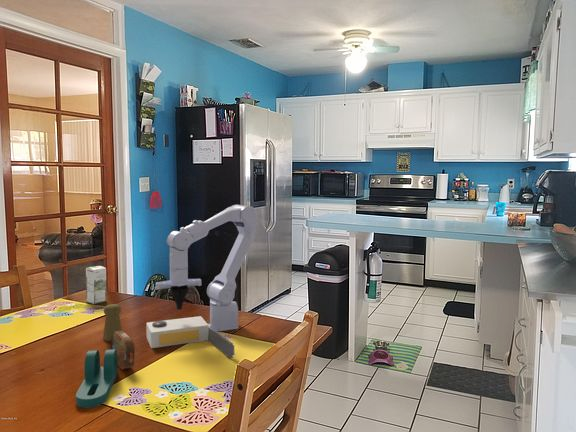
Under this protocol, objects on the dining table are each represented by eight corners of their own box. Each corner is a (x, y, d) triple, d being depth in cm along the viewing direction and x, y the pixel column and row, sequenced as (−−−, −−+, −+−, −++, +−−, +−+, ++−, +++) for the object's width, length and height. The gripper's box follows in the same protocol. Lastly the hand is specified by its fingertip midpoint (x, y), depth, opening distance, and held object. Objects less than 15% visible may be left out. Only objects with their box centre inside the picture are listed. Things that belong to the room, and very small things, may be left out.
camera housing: (200, 330, 157) (200, 314, 157) (209, 340, 148) (209, 323, 147) (146, 337, 150) (146, 320, 149) (151, 349, 140) (151, 331, 140)
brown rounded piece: (110, 355, 135) (109, 327, 134) (120, 353, 137) (120, 326, 136) (125, 374, 123) (124, 344, 122) (136, 371, 125) (136, 341, 124)
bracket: (91, 375, 122) (90, 346, 121) (117, 373, 123) (117, 345, 123) (72, 409, 105) (71, 376, 104) (103, 407, 106) (103, 374, 105)
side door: (207, 340, 147) (207, 326, 147) (212, 339, 148) (212, 326, 148) (230, 358, 133) (230, 343, 133) (234, 357, 134) (234, 342, 134)
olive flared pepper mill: (116, 341, 146) (115, 308, 145) (99, 340, 147) (98, 306, 146) (126, 335, 151) (125, 302, 150) (110, 333, 153) (109, 301, 152)
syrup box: (98, 299, 193) (98, 265, 192) (107, 301, 190) (106, 267, 189) (86, 302, 189) (85, 267, 187) (94, 304, 185) (93, 269, 184)
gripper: (158, 272, 142) (158, 314, 144) (203, 268, 149) (203, 309, 150) (154, 267, 149) (154, 308, 150) (198, 264, 155) (198, 303, 156)
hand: (179, 308), depth 150 cm, fingers closed
